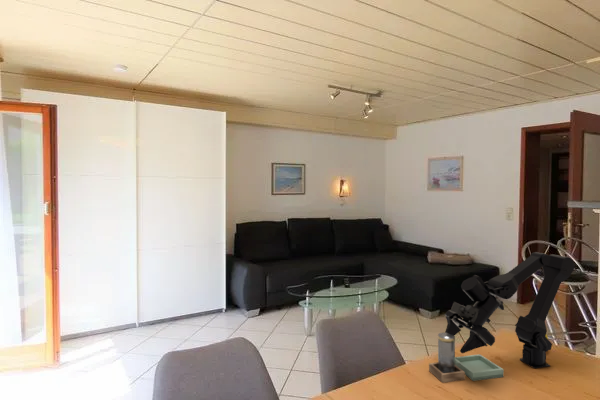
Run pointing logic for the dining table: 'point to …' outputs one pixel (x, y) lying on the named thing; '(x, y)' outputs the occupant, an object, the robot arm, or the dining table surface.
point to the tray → (478, 367)
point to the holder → (447, 377)
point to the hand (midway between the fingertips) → (452, 346)
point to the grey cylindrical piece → (446, 352)
